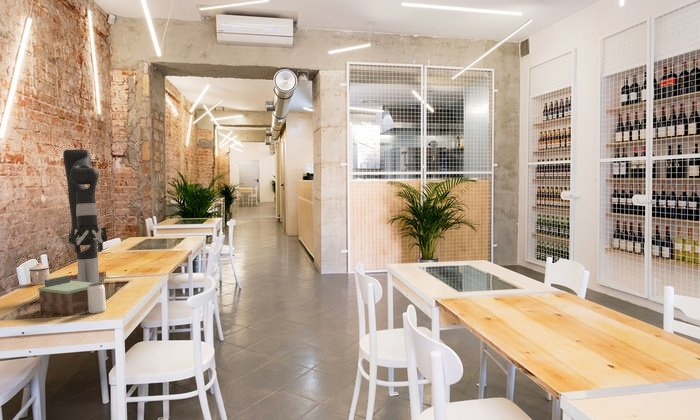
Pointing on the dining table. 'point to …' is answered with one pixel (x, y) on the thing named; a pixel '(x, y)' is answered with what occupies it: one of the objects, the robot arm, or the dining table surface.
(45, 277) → the teacup with lid
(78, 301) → the chest
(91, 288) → the can
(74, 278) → the hardcover book
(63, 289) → the lid
